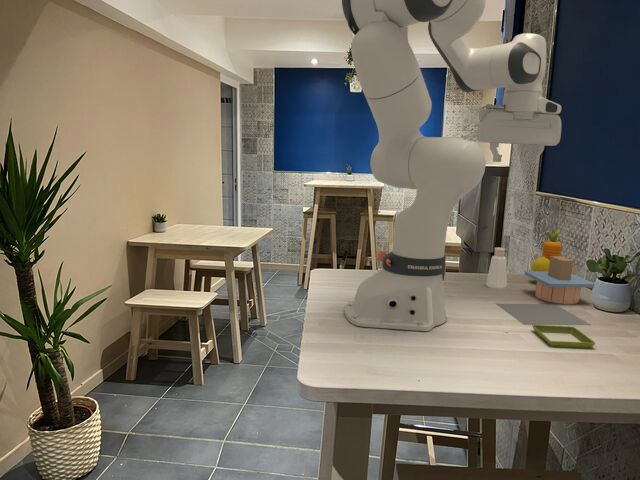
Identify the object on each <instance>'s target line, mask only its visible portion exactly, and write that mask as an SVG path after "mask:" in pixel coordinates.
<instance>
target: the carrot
mask: <svg viewBox="0 0 640 480" xmlns="http://www.w3.org/2000/svg"><path fill="white" fill-rule="evenodd" d="M560 232H561V229H559V228H557V230H556V231H555V232H554V234H552V235H551V232H550V230H546V233H547V235H548V238H549V240H546V241H544V243H543V245H542V256H544V257H545V258H547V259H548V260H549V261H550V256H561V254H562V247H563V244H562V243H561V242H560V241H558V240H557V239H558V237H559V235H560Z"/></svg>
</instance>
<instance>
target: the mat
mask: <svg viewBox="0 0 640 480" xmlns="http://www.w3.org/2000/svg"><path fill="white" fill-rule="evenodd" d="M496 306H498V307H499V308H501V310H503V311H504V312H505V313H507V314H509V315H510V316H512V317H513V318H514V319H516V320H517V321H519V322H520V323H521V324H523V325H528V326H529V325H530V326H532V325H549V326H592V324H591V323H589V322H587V321H586V320H583V319H582V318H580V317H578V316H577V315H575V314H573V313H571V312H570V311H567V310H566V309H564V308H563V307H560V306H559V305H558V304H556V303H496Z"/></svg>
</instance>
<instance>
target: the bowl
mask: <svg viewBox="0 0 640 480" xmlns="http://www.w3.org/2000/svg"><path fill="white" fill-rule="evenodd" d="M535 287H536V288H535V295H534V296H535V297H536V298H537V299H540V300H542V301H544V302H547V303H548V302H549V303H551V304H557V305H558V304H560V305H576V304H578V303H580V298H581V297H580V296H581V291H582V287H548V286H546V285H544V284H542V283H540V282H538V281H536V285H535Z"/></svg>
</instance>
